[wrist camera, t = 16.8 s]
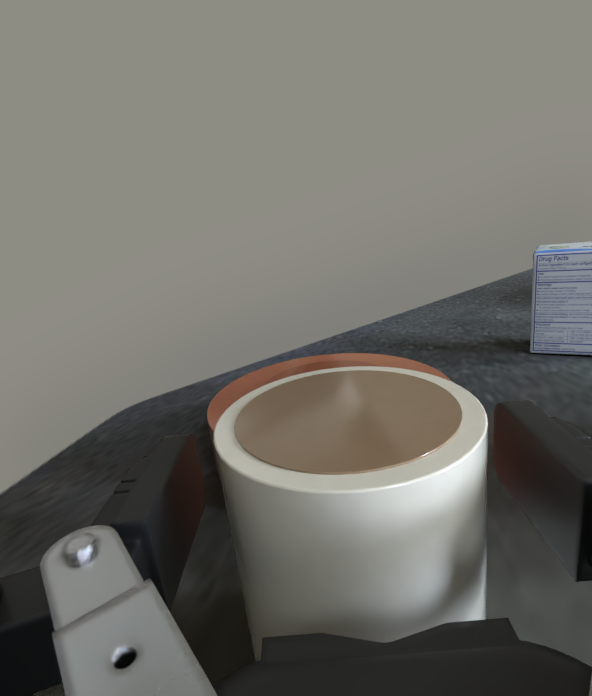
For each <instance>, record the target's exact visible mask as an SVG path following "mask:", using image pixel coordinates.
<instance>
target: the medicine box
mask: <svg viewBox="0 0 592 696" xmlns="http://www.w3.org/2000/svg"><path fill="white" fill-rule="evenodd" d="M530 352H531V353H549V354H574V355H592V242H579V243H566V244H553V245H540V246H538V247H537V248H536V251H535V252H534V254H533V283H532V310H531V338H530Z"/></svg>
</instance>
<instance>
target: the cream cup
mask: <svg viewBox="0 0 592 696" xmlns="http://www.w3.org/2000/svg"><path fill="white" fill-rule="evenodd" d="M213 443H214V449H215V454H216V459H217V464H218V469H219V475H220V480H221V485H222V490H223V496H224V501H225V506H226V511H227V516H228V522H229V527H230V532H231V537H232V542H233V548H234V553H235V558H236V563H237V568H238V574H239V579H240V584H241V589H242V594H243V600H244V605H245V610H246V615H247V620H248V626H249V631H250V636H251V641H252V646H253V652H254V657H255V662H256V661H259V660H260V659H261V648H262V638H264V637H276V636H288V635H301V634H313V633H326V634H332V635H338V636H344V637H350V638H356V639H363V640H369V641H375V642H382V643H387V642H392V641H395V640H398V639H401V638H404V637H407V636H410V635H413V634H415V633H418V632H421V631H424V630H427V629H430V628H433V627H436V626H438V625H441V624H444V623H449V622H461V621H474V620H486V566H487V480H488V419H487V414H486V412H485V410H484V408H483V406H482V404H481V403H480V402H479V400H478V399H477V398H476V397H475V396H474V395H472V394H471V393H470V392H469V391H467V390H466V389H464V388H463V387H461V386H459V385H457V384H455V383H453V382H451V381H449V380H446V379H444V378H441V377H438V376H435V375H431V374H428V373H423V372H419V371H414V370H408V369H401V368H392V367H377V366H357V367H340V368H331V369H323V370H317V371H311V372H306V373H302V374H297V375H294V376H290V377H287V378H283V379H280V380H277V381H274V382H272V383H269V384H267V385H264V386H262V387H260V388H258V389H255V390H253V391H251V392H250V393H248V394H246V395H245V396H243V397H241V398H240V399H238V400H237V401H236V402H234V403H233V404H232V405H231V406H230V407H229V408H228V409H226V410H225V412H224V413H223V414H222V415H221V417H220V418H219V420H218V422H217V424H216V426H215V430H214V433H213Z"/></svg>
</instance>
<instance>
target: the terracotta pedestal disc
mask: <svg viewBox="0 0 592 696" xmlns="http://www.w3.org/2000/svg"><path fill="white" fill-rule="evenodd" d="M357 366H377V367H392V368H401V369H408V370H414V371H419V372H423V373H428V374H431V375H435V376H438V377H441V378H444V379H446V380H449V381H450V379H449V378H448V377H447V376H445V375H444V374H443V373H441V372H440V371H438V370H437V369H435V368H433V367H431V366H428V365H426V364H423V363H420V362H418V361H414V360H410V359H406V358H401V357H396V356H389V355H381V354H366V353H343V354H328V355H318V356H311V357H305V358H299V359H294V360H289V361H285V362H281V363H277V364H274V365H270V366H267V367H264V368H261V369H259V370H256V371H253V372H251V373H249V374H247V375H244V376H242V377H240V378H239V379H237V380H235V381H233V382H232V383H230V384H229V385H227V386H226V387H224V388H223V389H222V390H221V391H220V392H218V394H217V395H216V396H215V397H214V398H213V399H212V401H211V403H210V404H209V407H208V410H207V421H208V426H209V431H210V437H211V442H212V447H213V452H214V457H215V462H216V468H217V473H218V477H219V480H220V475H219V469H218V464H217V459H216V454H215V449H214V443H213V433H214V430H215V426H216V424H217V422H218V420H219V418H220V417H221V415H222V414H223V413H224V412H225V410H226V409H228V408H229V407H230V406H231V405H232V404H233V403H234V402H236V401H237V400H238V399H240V398H241V397H243V396H245V395H246V394H248V393H250V392H251V391H253V390H255V389H258V388H260V387H262V386H264V385H267V384H269V383H272V382H274V381H277V380H280V379H283V378H287V377H290V376H294V375H297V374H302V373H306V372H311V371H317V370H323V369H331V368H340V367H357ZM220 483H221V480H220Z"/></svg>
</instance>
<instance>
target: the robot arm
mask: <svg viewBox="0 0 592 696" xmlns="http://www.w3.org/2000/svg"><path fill="white" fill-rule="evenodd" d="M494 465H495V469H496V473H497V475H498V478H499V479H500V481H501V483H502V484H503V485H504V487H505V488H506V489H507V491H508V492H509V493H510V495H511V496H512V497H513V499H514V500H515V501H516V502H517V504H518V505H519V506H520V508H521V509H522V510H523V512H524V513H525V514H526V516H527V517H528V518H529V520H530V521H531V522H532V524H533V525H534V526H535V528H536V529H537V530H538V532H539V533H540V534H541V536H542V537H543V538H544V540H545V541H546V542H547V544H548V545H549V546H550V548H551V549H552V550H553V552H554V553H555V554H556V556H557V557H558V558H559V560H560V561H561V562H562V564H563V565H564V566H565V568H566V569H567V570H568V572H569V573H570V574H571V576H572V577H573V578H574V579H575V581H576V582H577V581H589V580H592V439H589V436H588V435H586V434H585V433H584V432H583V431H581V430H580V429H579V428H577V427H576V426H575V425H573V424H570V423H568V422H565V421H563V420H561V419H558V418H556V417H549V416H548V415H547V414H546V413H544V412H543V411H542V410H541V409H539V408H538V407H537V406H536V405H535V404H533V403H532V402H531V401H528V400H525V401H516V402H506V403H498V404H497V405H496V407H495V411H494ZM204 505H205V485H204V480H203V475H202V470H201V465H200V460H199V455H198V450H197V445H196V441H195V438H194V436H193V435H192V434H183V435H173V436H164V437H163V438H162V439H161V441H160V442H159V444H158V446H157V447H156V449H155V450H154V452H153V454H152V455H151V456H146V457H143V458H142V459H141V460H139V461H138V462H137V463H136V464H134V465H133V466H132V467H130V468H129V470H128V471H127V473H126V474H125V476H124V477H123V479H122V480H121V483H119V485H118V486H117V488H116V489H115V490H114V494H112V495H111V496H110V498H109V499H108V501H107V502H106V504H105V505H104V507H103V508H102V510H101V511H100V513H99V514H98V516H97V517H96V519H95V520H94V522H93V523H92V525H91V526H90V527H86V528H83V529H80V530H77V531H75V532H72V533H70V534H68V535H67V536H65V537H63V538H62V539H60V540H59V541H58V542H56V543H55V544H54V545H53V546H52V547H50V549H49V550H48V551H47V552H46V553H45V555H44V556H43V558H42V560H41V563H40V566H38V567H35V568H32V569H29V570H26V571H23V572H19V573H16V574H13V575H10V576H6V577H3V578H0V696H32V695H33V694H34V693H36V692H39V691H41V690H44V689H47V688H49V687H52V686H54V685H57V684H60V683H62V682H63V686H64V690H65V695H66V696H592V667H590V666H588V665H587V664H585V663H583V662H581V661H579V660H577V659H575V658H573V657H571V656H569V655H567V654H564V653H562V652H560V651H557V650H554V649H551V648H549V647H546V646H542V645H539V644H535V643H531V642H527V641H521V640H519V639H518V637H517V635H516V633H515V631H514V629H513V627H512V625H511V623H510V621H509V619H508V618H499V619H486V620H474V621H461V622H449V623H444V624H441V625H438V626H436V627H433V628H430V629H427V630H424V631H421V632H418V633H415V634H413V635H410V636H407V637H404V638H401V639H398V640H395V641H392V642H387V643H382V642H375V641H369V640H363V639H356V638H350V637H344V636H338V635H332V634H326V633H313V634H301V635H288V636H276V637H264V638H262V648H261V659H260V660H259V661H256V662H254V663H251V664H249V665H247V666H245V667H243V668H241V669H239V670H237V671H235V672H233V673H232V674H230V675H229V676H227V677H225V678H224V679H223V680H221V681H220V682H219V683H218V684H216V685H215V686H214V687H212V685H211V683H210V682H209V680H208V678H207V676H206V675H205V673H204V671H203V669H202V668H201V666H200V664H199V662H198V661H197V659H196V657H195V655H194V654H193V652H192V650H191V648H190V647H189V645H188V643H187V641H186V640H185V638H184V636H183V634H182V633H181V631H180V629H179V627H178V626H177V624H176V622H175V620H174V619H173V617H172V615H171V613H170V610H171V607H172V604H173V601H174V598H175V595H176V592H177V589H178V586H179V583H180V580H181V576H182V573H183V570H184V567H185V564H186V561H187V558H188V555H189V552H190V549H191V546H192V543H193V540H194V537H195V534H196V531H197V528H198V525H199V522H200V518H201V515H202V512H203V509H204Z"/></svg>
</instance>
